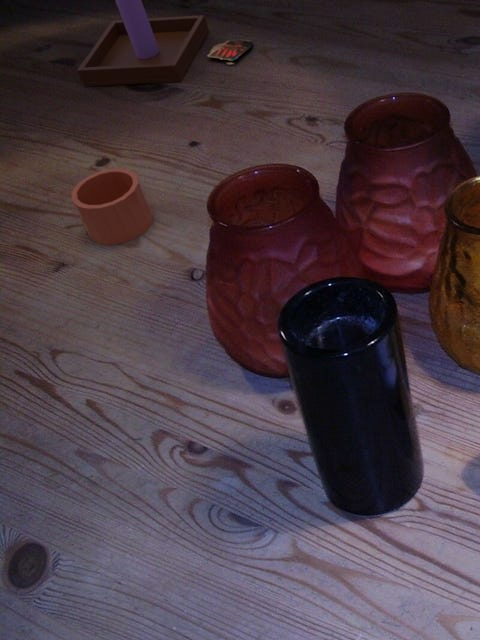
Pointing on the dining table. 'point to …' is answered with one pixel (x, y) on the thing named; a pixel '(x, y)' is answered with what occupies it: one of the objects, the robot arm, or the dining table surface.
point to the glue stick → (138, 28)
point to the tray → (125, 68)
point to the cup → (112, 206)
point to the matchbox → (230, 49)
